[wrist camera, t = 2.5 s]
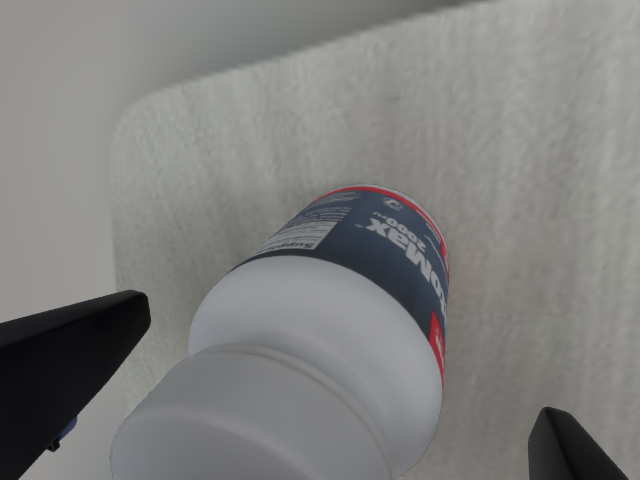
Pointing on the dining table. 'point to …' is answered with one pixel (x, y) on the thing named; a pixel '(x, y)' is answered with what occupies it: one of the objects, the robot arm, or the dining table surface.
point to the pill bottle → (308, 355)
